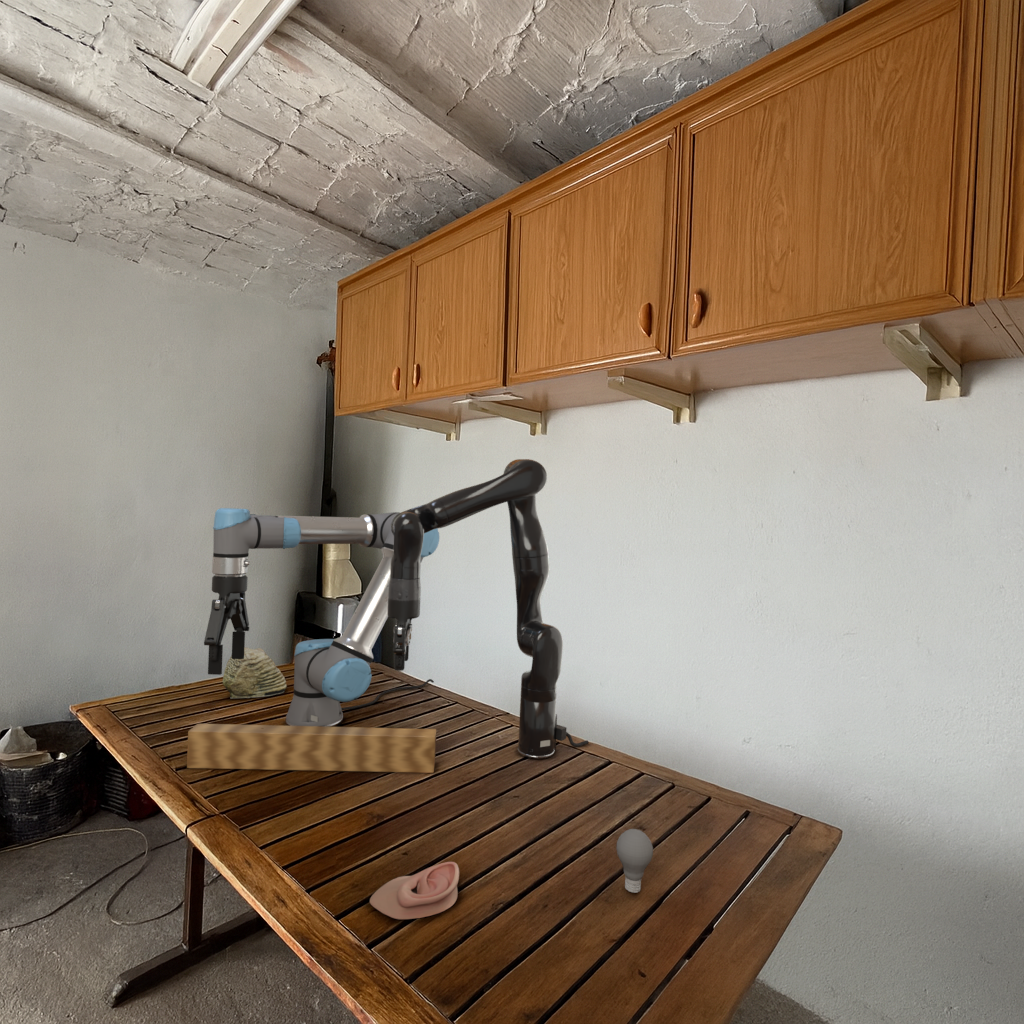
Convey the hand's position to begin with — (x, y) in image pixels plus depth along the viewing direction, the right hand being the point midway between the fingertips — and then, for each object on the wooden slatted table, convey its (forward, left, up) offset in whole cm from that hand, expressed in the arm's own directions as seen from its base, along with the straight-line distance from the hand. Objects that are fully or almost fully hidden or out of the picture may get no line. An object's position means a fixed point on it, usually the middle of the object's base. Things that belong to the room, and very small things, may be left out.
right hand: (401, 665), depth 149 cm
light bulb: (+5, +64, -24) cm, 69 cm away
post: (+13, -14, -24) cm, 31 cm away
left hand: (+27, -30, -1) cm, 40 cm away
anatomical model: (+31, +39, -24) cm, 56 cm away
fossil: (-4, -72, -24) cm, 76 cm away
